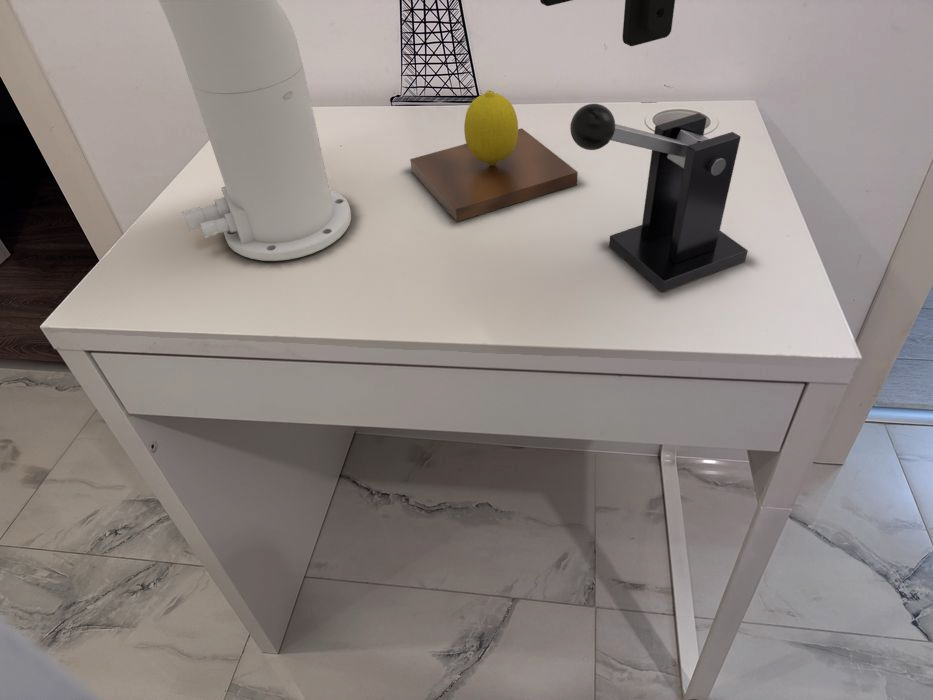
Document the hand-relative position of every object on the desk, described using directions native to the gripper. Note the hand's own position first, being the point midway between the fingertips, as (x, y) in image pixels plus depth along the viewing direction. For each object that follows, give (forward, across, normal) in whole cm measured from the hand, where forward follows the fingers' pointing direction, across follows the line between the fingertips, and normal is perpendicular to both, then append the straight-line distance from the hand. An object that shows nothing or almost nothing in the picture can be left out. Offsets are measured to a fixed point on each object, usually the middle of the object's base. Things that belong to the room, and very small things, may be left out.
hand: (600, 19), depth 45 cm
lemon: (+20, +21, -2) cm, 29 cm away
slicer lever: (+11, 0, -4) cm, 12 cm away
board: (+22, +21, -2) cm, 30 cm away
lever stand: (+22, 0, -10) cm, 24 cm away
